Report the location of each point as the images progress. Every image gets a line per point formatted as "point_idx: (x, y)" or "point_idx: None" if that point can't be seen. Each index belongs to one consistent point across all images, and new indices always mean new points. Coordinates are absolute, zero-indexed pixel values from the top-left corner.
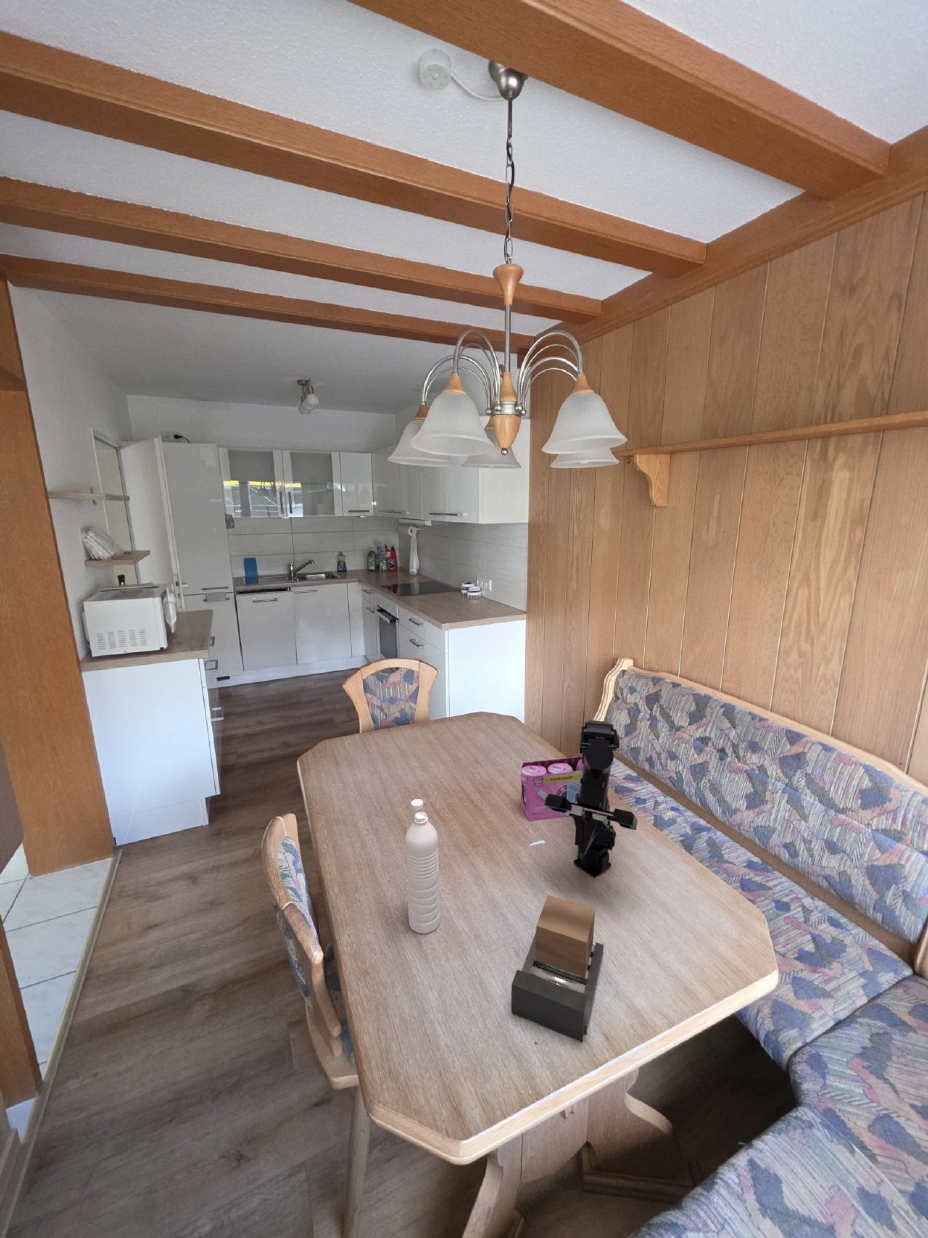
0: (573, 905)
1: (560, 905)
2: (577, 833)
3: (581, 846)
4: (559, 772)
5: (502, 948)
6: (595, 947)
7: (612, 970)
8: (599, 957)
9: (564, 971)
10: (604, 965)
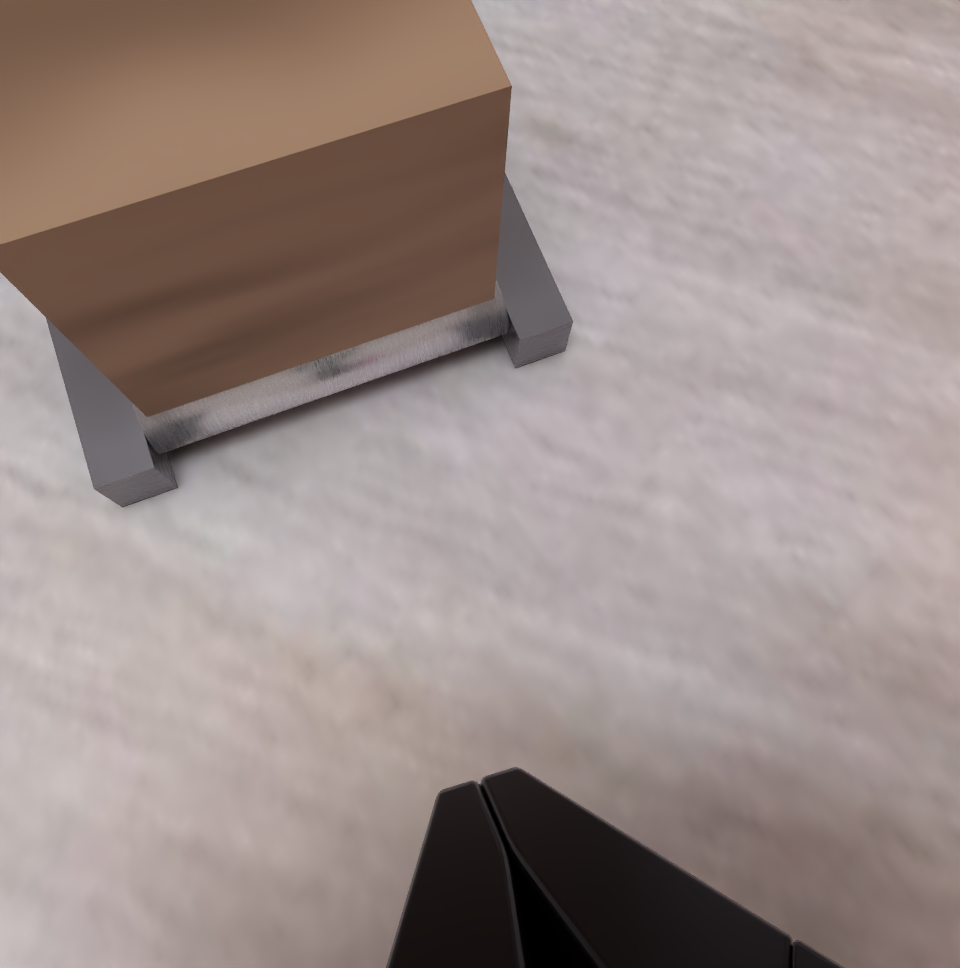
0: (205, 140)
1: (319, 59)
2: (823, 955)
3: (543, 831)
4: None
5: (639, 106)
6: (134, 424)
7: (14, 430)
8: (73, 372)
9: None
10: (73, 426)
